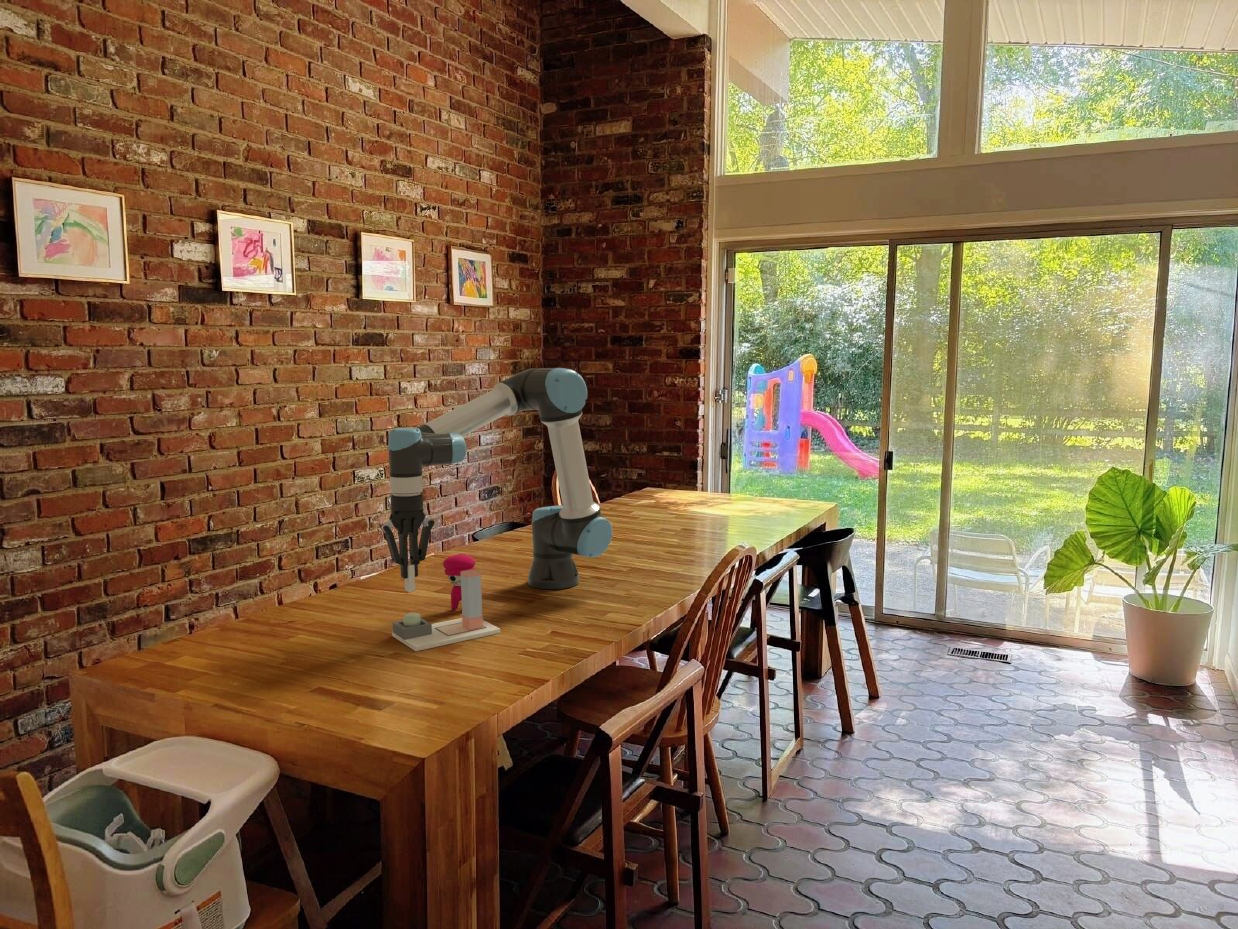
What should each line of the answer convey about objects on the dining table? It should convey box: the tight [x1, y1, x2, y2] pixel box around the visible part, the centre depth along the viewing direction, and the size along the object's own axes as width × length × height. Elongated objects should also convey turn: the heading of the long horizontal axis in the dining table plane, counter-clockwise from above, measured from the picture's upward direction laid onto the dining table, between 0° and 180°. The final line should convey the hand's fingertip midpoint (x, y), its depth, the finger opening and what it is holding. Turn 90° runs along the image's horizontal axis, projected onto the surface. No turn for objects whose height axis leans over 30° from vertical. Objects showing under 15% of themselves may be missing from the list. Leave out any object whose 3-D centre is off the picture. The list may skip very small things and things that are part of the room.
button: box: [402, 612, 421, 628], centre depth 212 cm, size 4×4×3 cm
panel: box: [391, 617, 501, 652], centre depth 214 cm, size 22×14×4 cm, turn 126°
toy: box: [442, 553, 476, 610], centre depth 234 cm, size 8×8×15 cm
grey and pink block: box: [460, 568, 484, 631], centre depth 215 cm, size 4×4×14 cm
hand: (410, 590), depth 211 cm, fingers closed
